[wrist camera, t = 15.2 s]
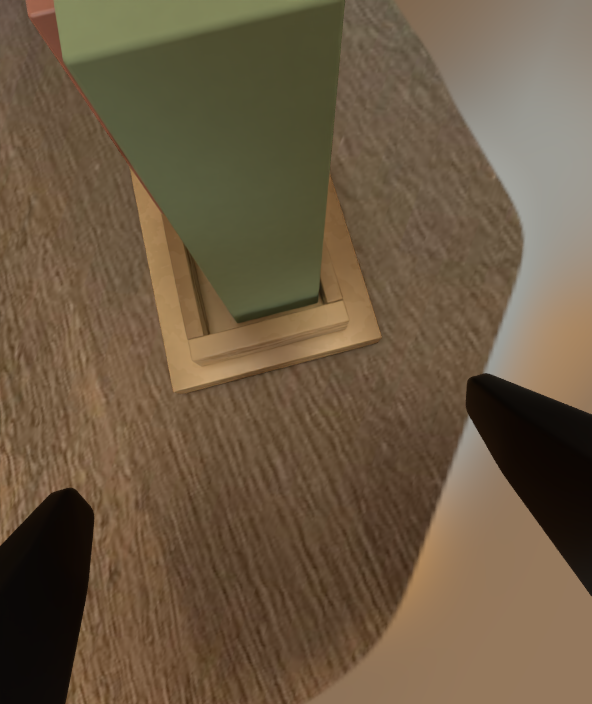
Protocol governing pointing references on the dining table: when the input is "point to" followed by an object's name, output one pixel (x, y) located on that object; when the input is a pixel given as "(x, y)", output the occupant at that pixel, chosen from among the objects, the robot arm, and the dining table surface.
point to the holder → (208, 309)
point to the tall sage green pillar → (222, 128)
